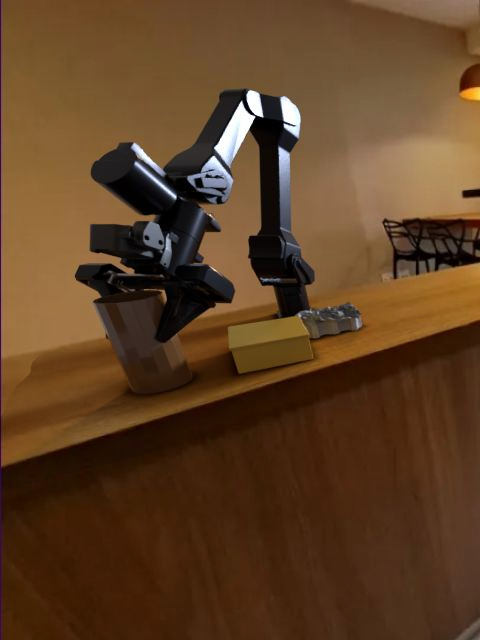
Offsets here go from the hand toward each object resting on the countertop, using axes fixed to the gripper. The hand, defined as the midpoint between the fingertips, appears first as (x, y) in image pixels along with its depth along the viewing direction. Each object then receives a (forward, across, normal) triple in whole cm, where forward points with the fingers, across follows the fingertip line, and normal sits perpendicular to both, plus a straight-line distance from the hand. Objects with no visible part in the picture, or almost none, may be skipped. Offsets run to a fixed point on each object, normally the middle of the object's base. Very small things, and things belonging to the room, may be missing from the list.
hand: (135, 340), depth 56 cm
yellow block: (-4, +9, +14) cm, 17 cm away
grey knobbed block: (-13, +12, +22) cm, 29 cm away
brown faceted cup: (+4, 0, +6) cm, 7 cm away
